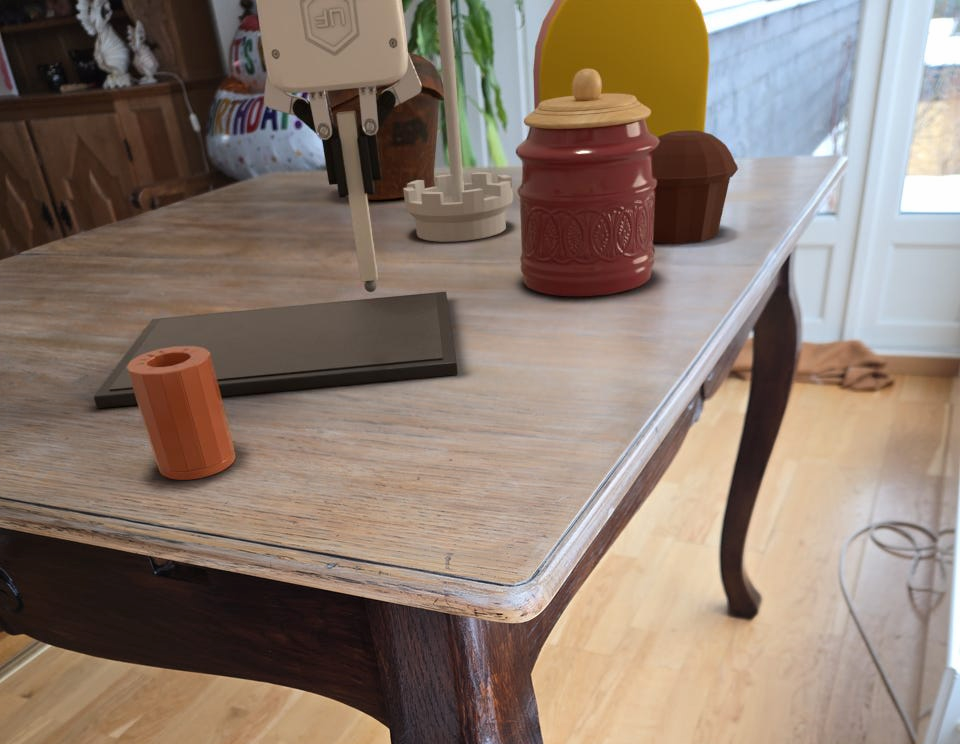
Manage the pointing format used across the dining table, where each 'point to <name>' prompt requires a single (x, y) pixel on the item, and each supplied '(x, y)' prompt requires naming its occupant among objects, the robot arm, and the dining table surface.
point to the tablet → (305, 345)
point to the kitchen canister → (587, 193)
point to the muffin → (690, 186)
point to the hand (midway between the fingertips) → (357, 191)
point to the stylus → (357, 199)
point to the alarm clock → (629, 56)
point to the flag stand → (456, 173)
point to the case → (402, 131)
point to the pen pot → (182, 411)
